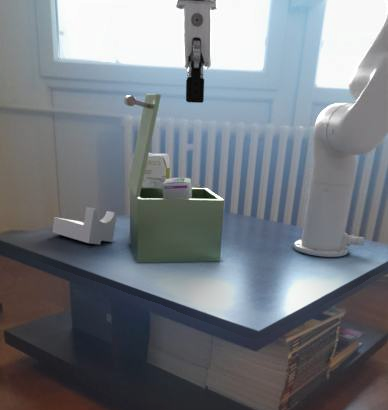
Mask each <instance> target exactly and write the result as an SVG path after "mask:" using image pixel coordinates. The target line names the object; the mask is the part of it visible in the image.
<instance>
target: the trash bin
mask: <svg viewBox="0 0 388 410" xmlns="http://www.w3.org/2000/svg"><path fill="white" fill-rule="evenodd" d="M191 190H192V199H163V188H159V187H141V192H140V197H137V196H135V195H134V193H133V191H132V190H131V188H130V187H129V244H130V247H131V250H132V252H133V255H134V257H135V259H136V263H138V264H139V263H195V262H197V263H200V262H207V263H208V262H220V261H221V252H222V237H223V222H224V210H225V199H223V198H222V197H220V196H219V195H217V194H216V193H215V192H213V191H212V190H210V189H209V188H207V187H201V188H191Z"/></svg>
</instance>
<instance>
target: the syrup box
mask: <svg viewBox="0 0 388 410" xmlns="http://www.w3.org/2000/svg"><path fill="white" fill-rule="evenodd" d="M191 183H192V178H191V177H170V179H165V181H164V182H163V184H162V188H163V199H192V190H191Z"/></svg>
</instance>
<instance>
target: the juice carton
mask: <svg viewBox="0 0 388 410" xmlns="http://www.w3.org/2000/svg"><path fill="white" fill-rule="evenodd" d="M131 156H132V157H131V163H130V168H131V167H132V162H133V157H134V153H132V155H131ZM170 178H171V160H170V155H169V153H152V152H149V154H148V159H147V164H146V169H145V173H144V178H143V183H142V187H159V188H162V184H163V182H164V181H165V179H170Z"/></svg>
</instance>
